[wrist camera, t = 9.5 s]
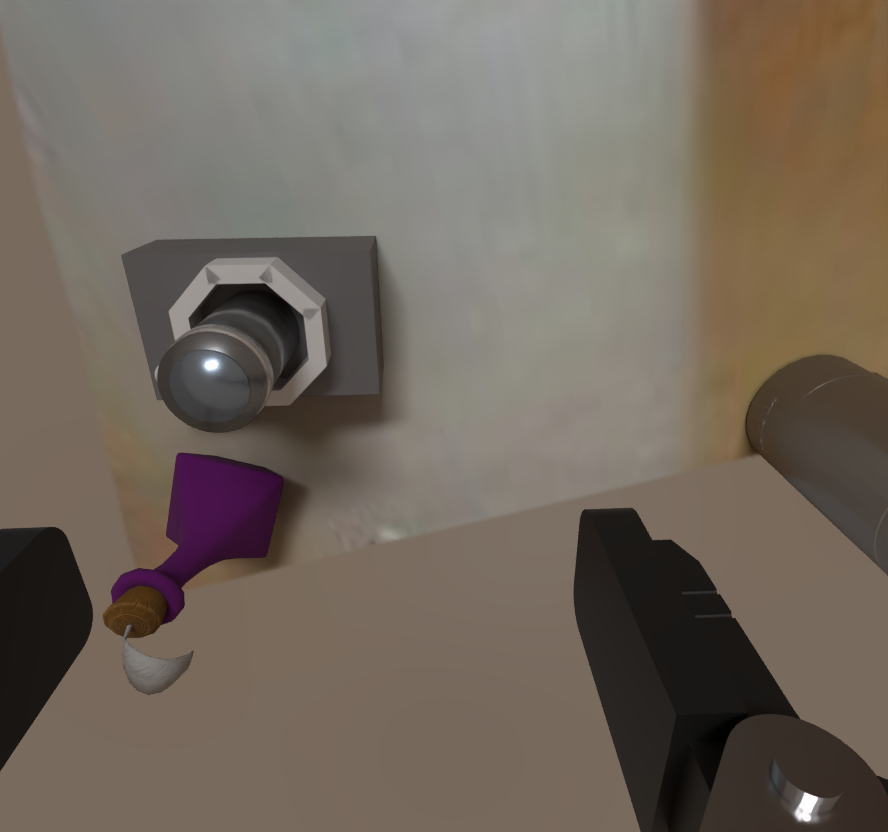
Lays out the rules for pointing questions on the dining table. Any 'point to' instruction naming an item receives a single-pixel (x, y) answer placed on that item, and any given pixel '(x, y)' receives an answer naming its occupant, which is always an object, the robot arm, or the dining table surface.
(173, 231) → the dining table surface
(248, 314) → the lens
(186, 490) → the perfume bottle
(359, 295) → the camera body
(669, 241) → the dining table surface
